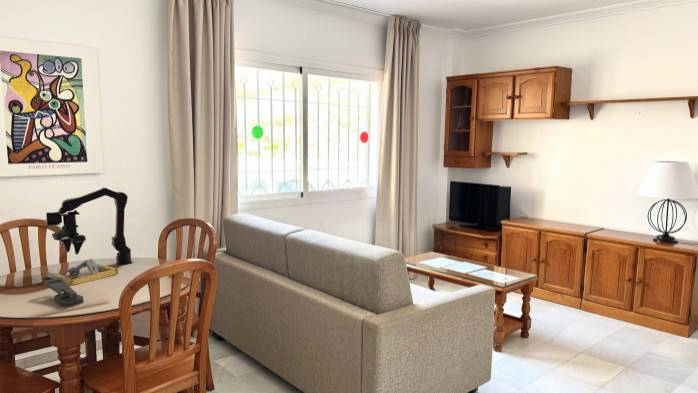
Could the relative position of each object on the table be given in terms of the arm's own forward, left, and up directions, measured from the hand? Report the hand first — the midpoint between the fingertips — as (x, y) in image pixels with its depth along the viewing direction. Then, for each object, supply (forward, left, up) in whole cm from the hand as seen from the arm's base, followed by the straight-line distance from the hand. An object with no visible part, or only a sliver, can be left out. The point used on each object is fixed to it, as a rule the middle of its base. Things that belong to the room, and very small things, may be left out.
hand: (72, 253), depth 255 cm
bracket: (+4, +15, -10) cm, 18 cm away
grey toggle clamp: (+25, +44, -10) cm, 51 cm away
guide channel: (+2, +13, -9) cm, 16 cm away
